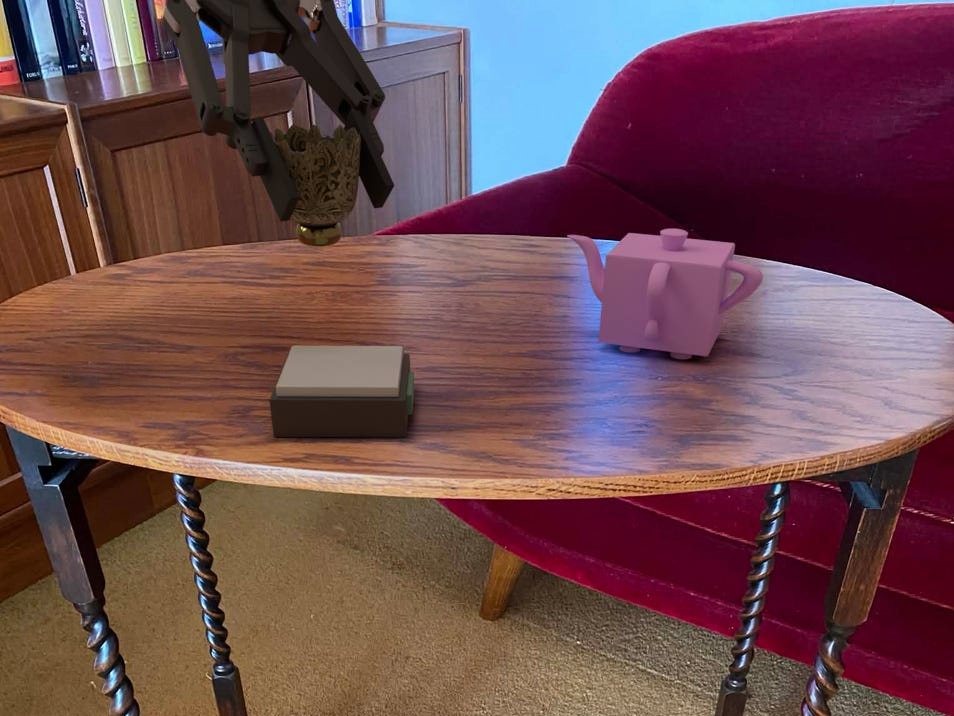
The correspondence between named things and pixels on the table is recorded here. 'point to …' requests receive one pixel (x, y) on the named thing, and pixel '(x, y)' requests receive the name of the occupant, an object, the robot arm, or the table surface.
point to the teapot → (665, 291)
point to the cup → (321, 179)
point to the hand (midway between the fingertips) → (338, 202)
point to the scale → (343, 392)
